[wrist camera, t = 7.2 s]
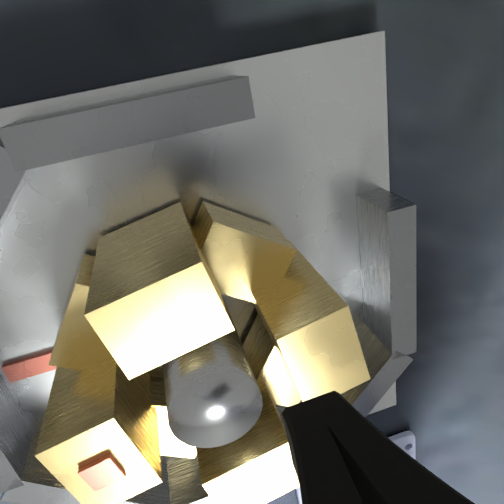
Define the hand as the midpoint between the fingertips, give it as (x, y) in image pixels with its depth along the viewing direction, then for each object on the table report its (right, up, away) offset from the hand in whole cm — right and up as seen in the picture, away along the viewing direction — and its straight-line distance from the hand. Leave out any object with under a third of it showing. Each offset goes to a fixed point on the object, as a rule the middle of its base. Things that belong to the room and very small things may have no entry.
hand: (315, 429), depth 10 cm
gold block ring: (-4, +1, +8) cm, 9 cm away
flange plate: (-4, +2, +9) cm, 10 cm away
